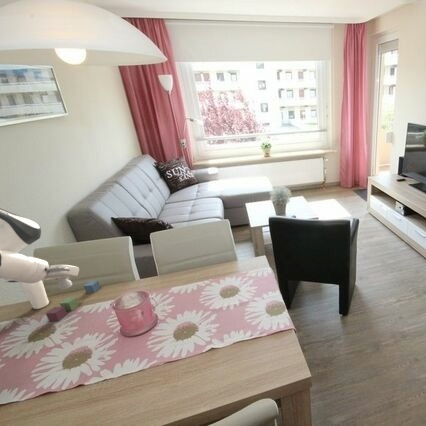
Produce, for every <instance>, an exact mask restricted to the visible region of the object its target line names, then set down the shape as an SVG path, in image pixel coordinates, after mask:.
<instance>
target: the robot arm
mask: <svg viewBox="0 0 426 426" xmlns="http://www.w3.org/2000/svg"><path fill="white" fill-rule="evenodd" d="M41 235H42V228H41V226H40V225H39V223H37V222H36V221H34V220H31V218H27V217H25V216H21V215H18V214H16V213H13V212H10V211H8V210H5V209H3V208H0V279H3V280H4V282H5V283H19V282H23V283H37V282H39V281H49V280H50V281H51V280H52V281H58V279H60V278H63V279H70V278H76V277H78V276H79V272H80V268H79V267H78V266H75V265H69V264H53V265H49V262H48V261H47V260H46V259H43V258H39V257H35V256H31V255H30V256H29V255H25V254H23V253H21V252H22V251H23V250H25V249H26V248H27V247H28V246H30V245H32V244H33V243H35V242H36V241H38V240H39V239H41Z"/></svg>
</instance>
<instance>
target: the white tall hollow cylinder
mask: <svg viewBox="0 0 426 426" xmlns="http://www.w3.org/2000/svg"><path fill="white" fill-rule="evenodd" d="M18 284H19V286H20V288H21V290H22V292H23V293H24V295H25V297H26V298H27V299H28V302H29V303H30V304H31V307H32V309H34V310H39V309H42V308H44V307H47V306H48V305H49V303H50V300H49V298H48V295H47V292H46V289H45V286H44V280H42V281H39V282H37V283H23V282H18Z"/></svg>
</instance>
